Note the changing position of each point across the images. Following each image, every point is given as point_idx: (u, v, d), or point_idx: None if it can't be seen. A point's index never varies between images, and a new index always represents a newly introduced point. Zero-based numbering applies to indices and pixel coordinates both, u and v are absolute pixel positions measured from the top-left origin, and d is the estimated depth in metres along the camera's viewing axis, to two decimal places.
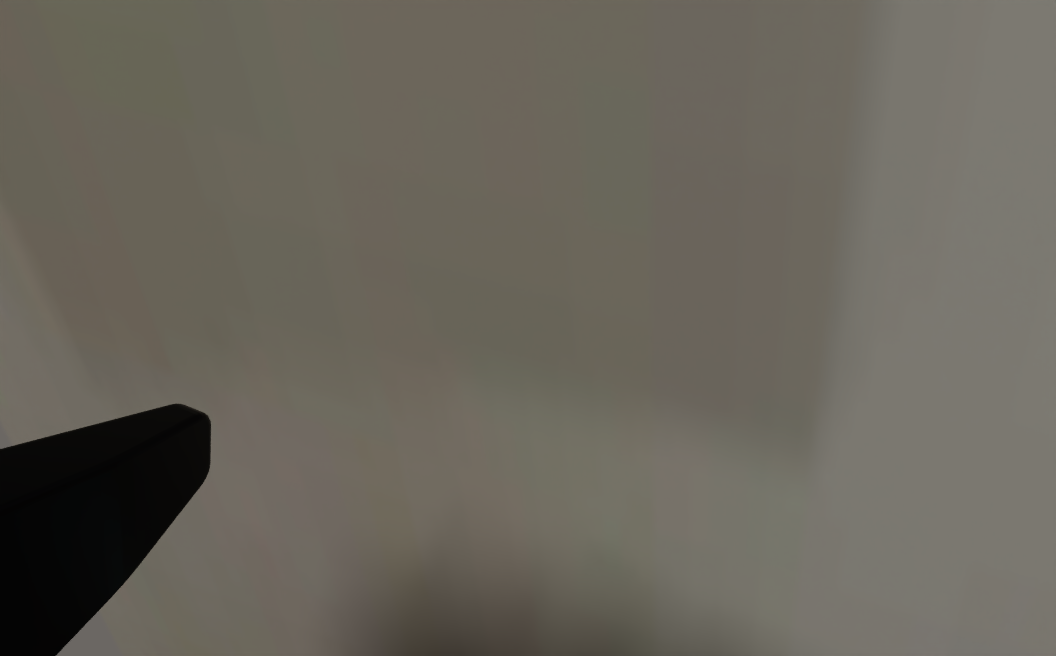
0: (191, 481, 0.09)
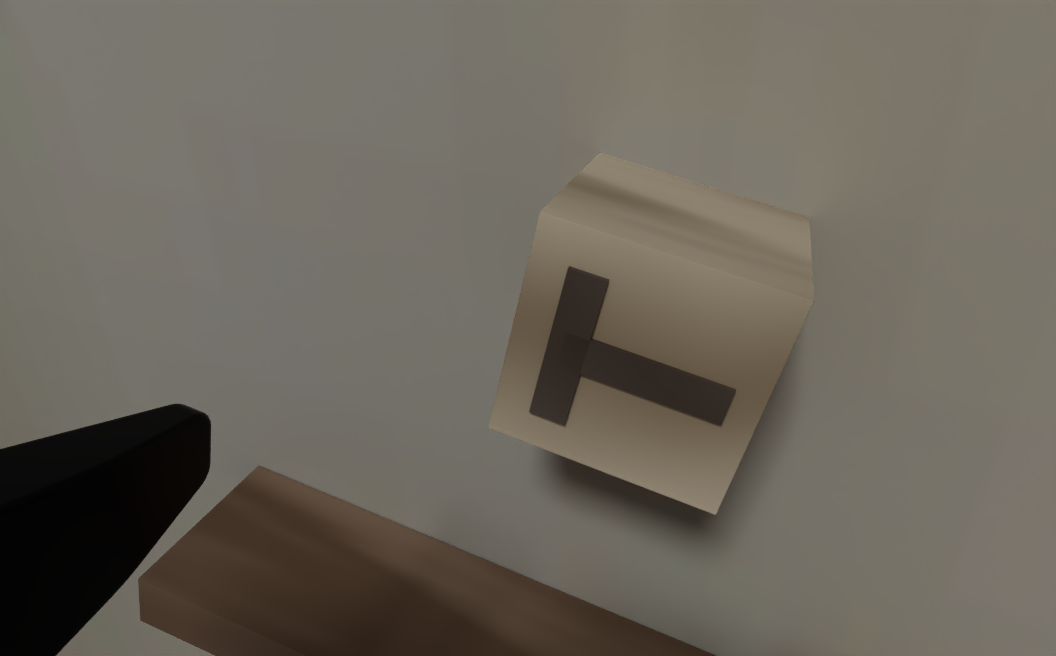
0: (191, 481, 0.09)
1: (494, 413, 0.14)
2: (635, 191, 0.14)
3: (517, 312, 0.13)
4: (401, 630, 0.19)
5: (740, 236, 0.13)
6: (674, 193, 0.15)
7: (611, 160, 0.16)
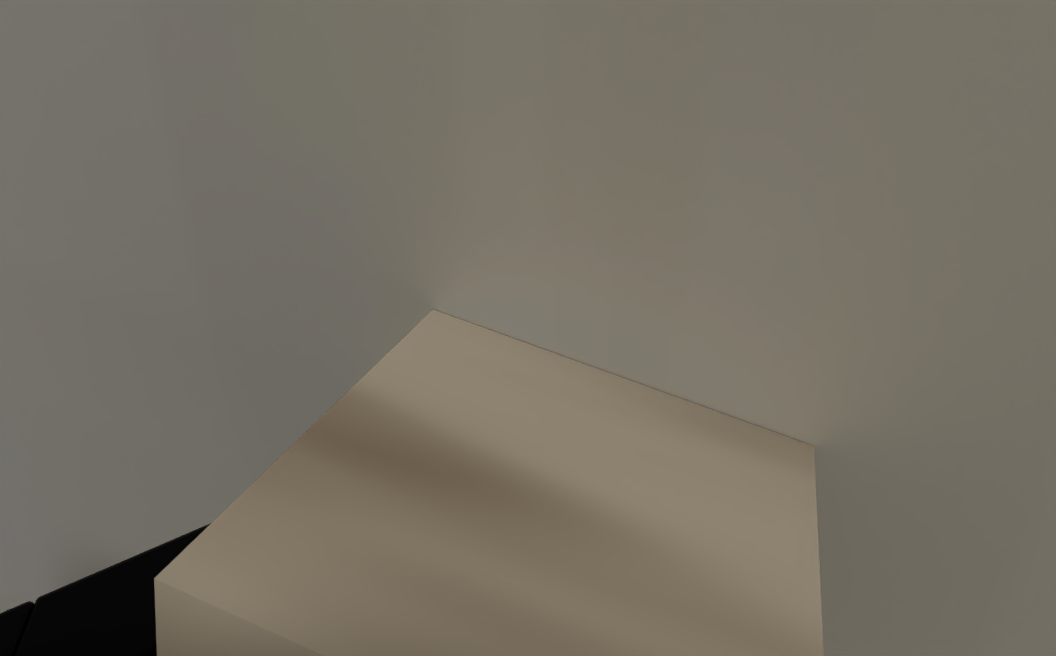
0: None
1: None
2: (461, 432, 0.07)
3: None
4: None
5: (665, 567, 0.06)
6: (547, 422, 0.07)
7: (445, 333, 0.08)
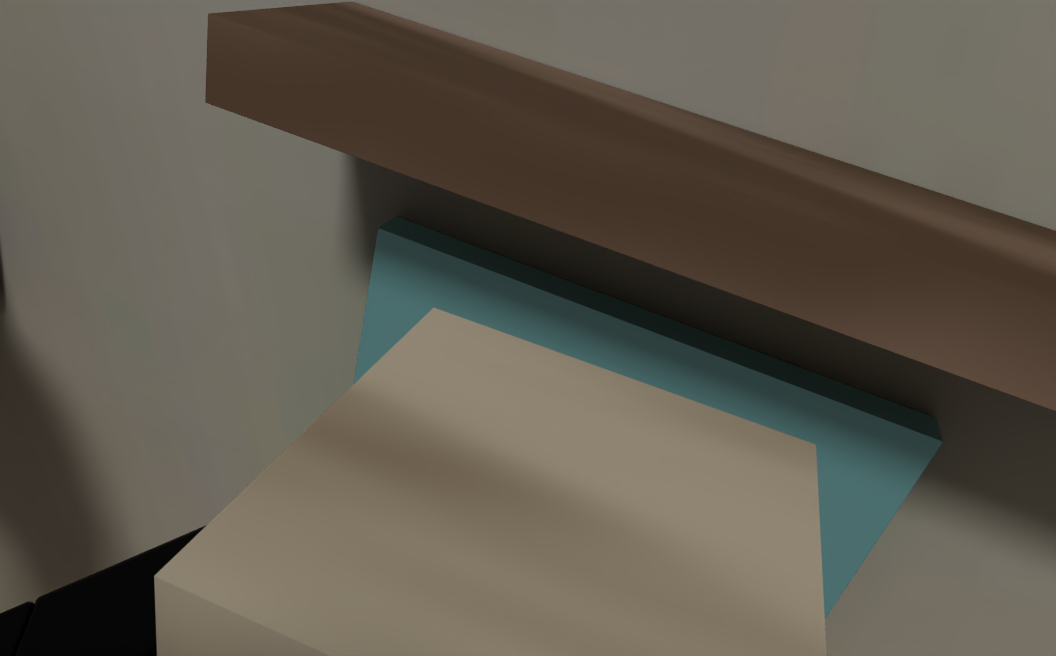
0: None
1: None
2: (462, 429, 0.07)
3: None
4: (575, 112, 0.14)
5: (667, 564, 0.06)
6: (548, 420, 0.07)
7: (446, 331, 0.08)
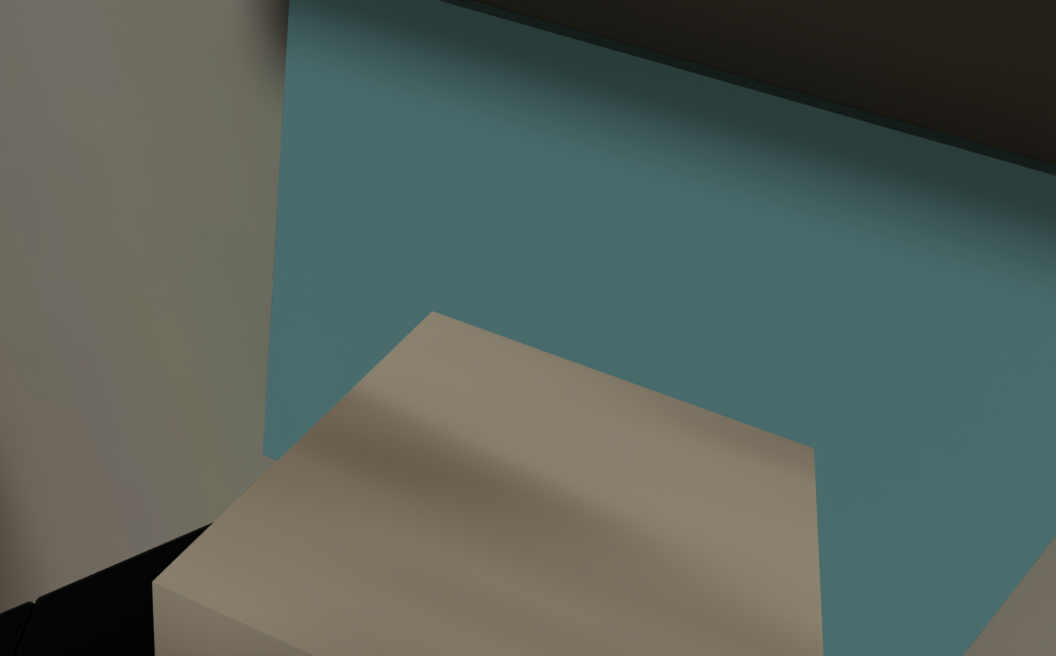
0: None
1: None
2: (459, 433, 0.07)
3: None
4: None
5: (666, 570, 0.06)
6: (546, 424, 0.07)
7: (444, 334, 0.08)
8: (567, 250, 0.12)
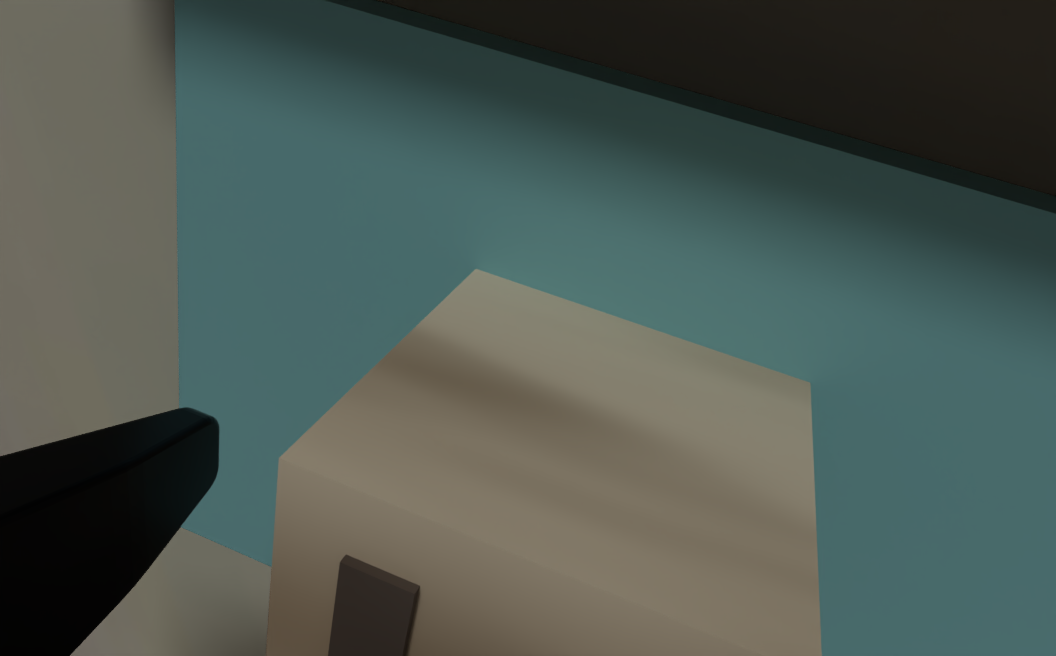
0: (200, 485, 0.09)
1: None
2: (508, 362, 0.08)
3: (270, 614, 0.07)
4: None
5: (685, 465, 0.07)
6: (580, 358, 0.09)
7: (488, 287, 0.10)
8: None
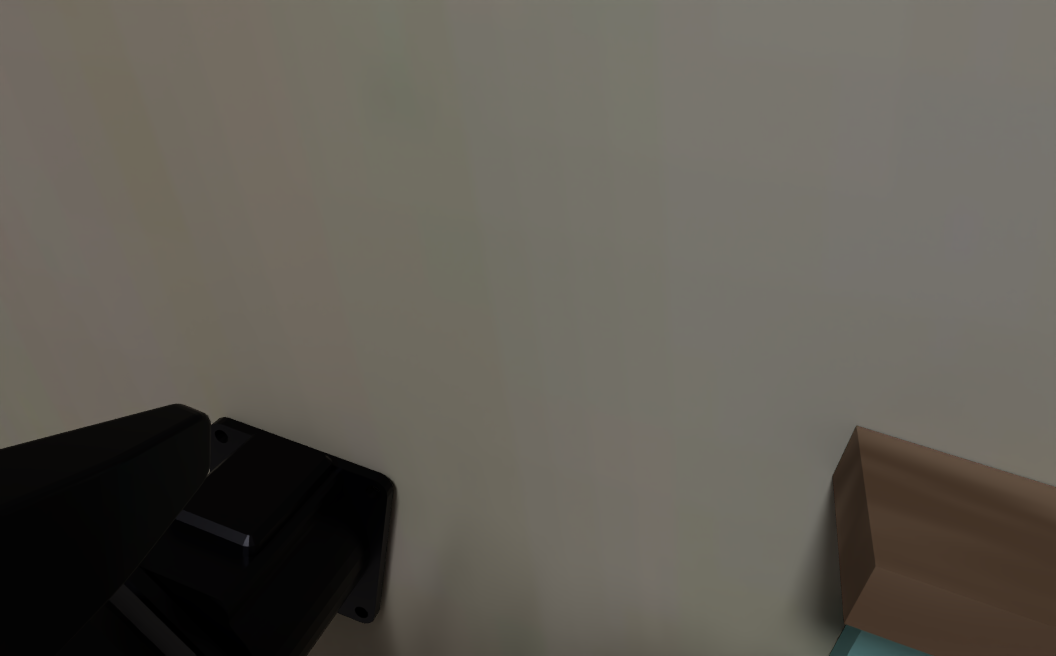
0: (191, 482, 0.09)
1: None
2: None
3: None
4: None
5: None
6: None
7: None
8: None
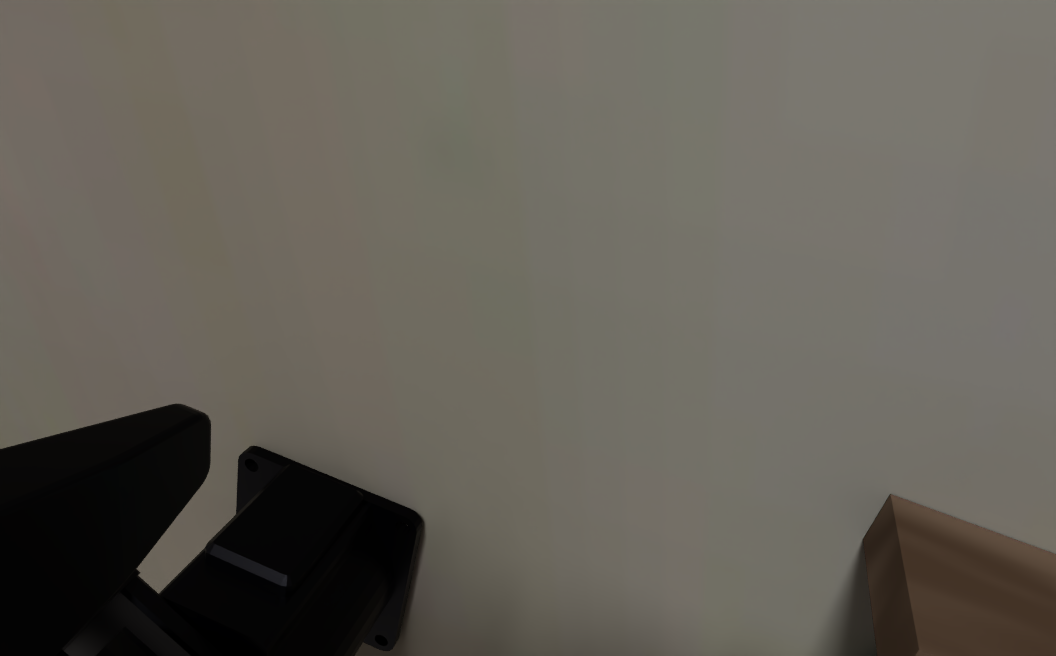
0: (191, 481, 0.09)
1: None
2: None
3: None
4: None
5: None
6: None
7: None
8: None
